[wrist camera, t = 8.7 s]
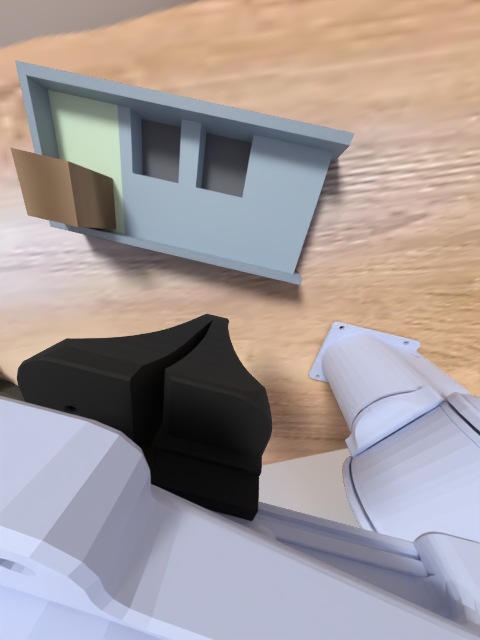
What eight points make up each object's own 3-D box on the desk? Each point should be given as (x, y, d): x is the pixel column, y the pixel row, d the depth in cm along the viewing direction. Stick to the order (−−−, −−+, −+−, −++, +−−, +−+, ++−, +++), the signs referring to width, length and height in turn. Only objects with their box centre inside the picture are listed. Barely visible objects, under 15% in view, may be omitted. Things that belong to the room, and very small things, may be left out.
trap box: (337, 152, 15) (354, 133, 12) (295, 278, 19) (300, 285, 16) (59, 92, 15) (15, 60, 12) (80, 227, 20) (50, 226, 17)
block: (112, 178, 16) (67, 160, 12) (116, 229, 18) (77, 226, 14) (68, 168, 16) (10, 148, 12) (76, 219, 18) (27, 215, 14)
